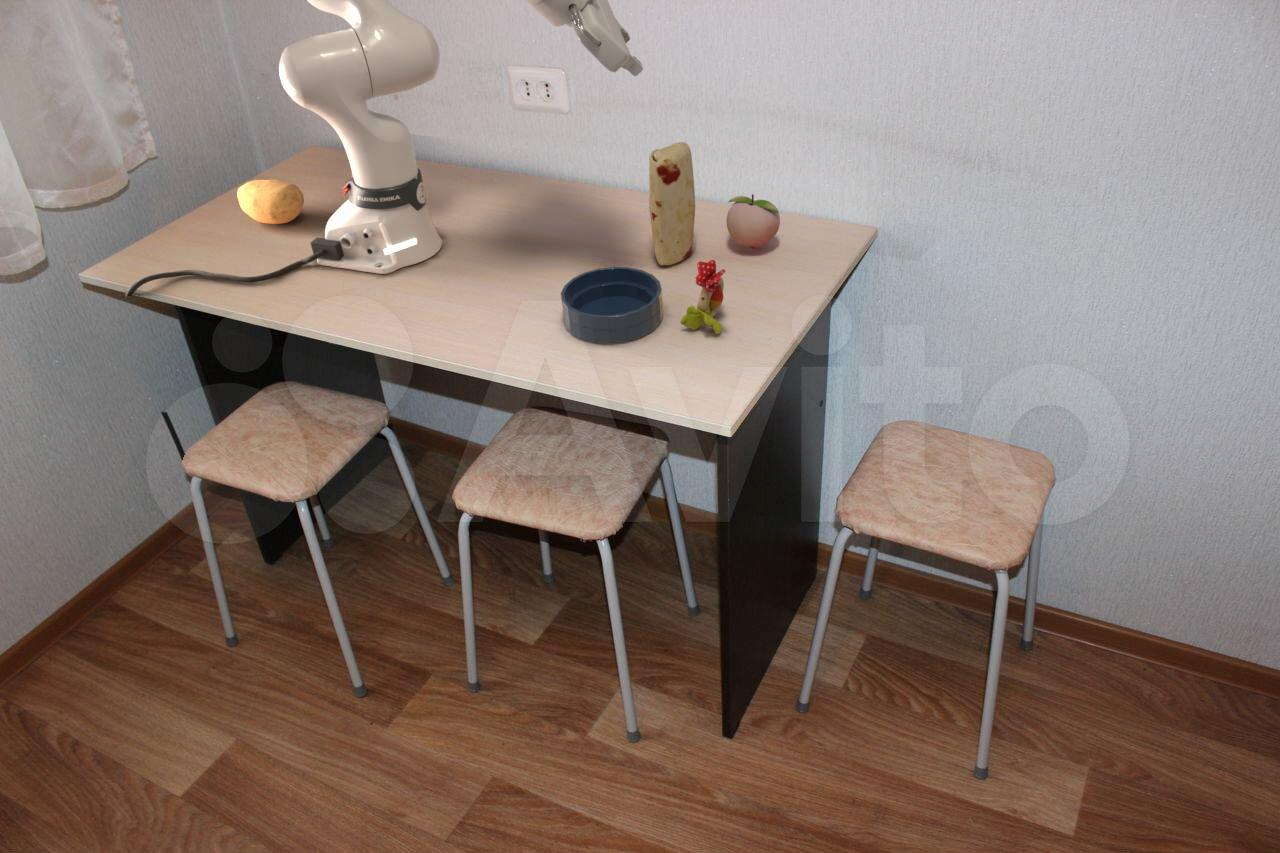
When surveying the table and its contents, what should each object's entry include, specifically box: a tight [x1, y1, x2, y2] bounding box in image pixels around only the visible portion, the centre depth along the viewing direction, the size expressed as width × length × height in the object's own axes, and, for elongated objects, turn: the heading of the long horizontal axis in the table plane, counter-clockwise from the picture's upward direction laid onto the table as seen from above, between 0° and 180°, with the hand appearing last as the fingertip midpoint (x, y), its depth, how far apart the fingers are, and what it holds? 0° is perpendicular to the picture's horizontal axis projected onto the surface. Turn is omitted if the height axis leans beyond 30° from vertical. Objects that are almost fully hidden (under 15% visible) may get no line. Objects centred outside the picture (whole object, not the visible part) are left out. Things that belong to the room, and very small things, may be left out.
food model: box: [648, 141, 696, 266], centre depth 174 cm, size 10×7×20 cm
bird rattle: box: [679, 259, 726, 335], centre depth 159 cm, size 6×11×9 cm
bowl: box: [560, 266, 664, 344], centre depth 163 cm, size 16×16×5 cm
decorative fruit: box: [726, 193, 781, 249], centre depth 177 cm, size 9×8×10 cm
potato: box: [236, 179, 305, 225], centre depth 200 cm, size 10×14×8 cm
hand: (632, 55), depth 152 cm, fingers open, 8 cm apart
